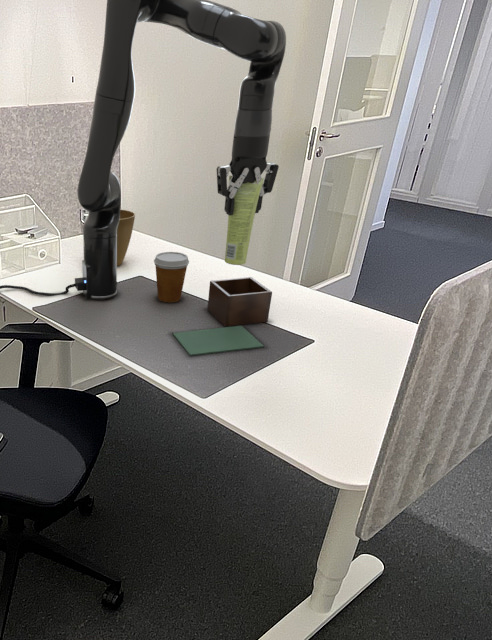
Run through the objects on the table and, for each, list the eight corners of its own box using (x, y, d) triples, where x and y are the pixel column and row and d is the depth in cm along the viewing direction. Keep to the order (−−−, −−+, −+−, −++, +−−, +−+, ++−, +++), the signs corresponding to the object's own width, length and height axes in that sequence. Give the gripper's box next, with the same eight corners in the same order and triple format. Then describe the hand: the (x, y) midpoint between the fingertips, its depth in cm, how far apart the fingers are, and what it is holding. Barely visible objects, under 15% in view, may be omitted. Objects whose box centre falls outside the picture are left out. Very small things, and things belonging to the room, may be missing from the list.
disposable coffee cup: (185, 305, 155) (188, 262, 149) (150, 303, 157) (152, 261, 151) (187, 293, 163) (190, 252, 157) (153, 291, 165) (155, 250, 159)
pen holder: (225, 326, 143) (228, 296, 139) (207, 309, 153) (210, 280, 149) (267, 321, 145) (272, 292, 141) (247, 305, 155) (251, 276, 150)
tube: (240, 257, 139) (250, 173, 129) (252, 263, 135) (264, 177, 125) (220, 261, 138) (229, 175, 127) (231, 267, 133) (242, 179, 123)
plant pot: (135, 270, 182) (136, 219, 173) (88, 270, 182) (87, 219, 174) (132, 256, 194) (133, 207, 186) (89, 256, 195) (88, 208, 186)
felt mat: (190, 356, 130) (190, 354, 129) (172, 334, 140) (172, 333, 139) (263, 347, 133) (263, 345, 132) (241, 326, 143) (241, 325, 142)
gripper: (274, 129, 126) (263, 207, 135) (213, 132, 123) (206, 212, 132) (291, 133, 120) (279, 215, 128) (228, 136, 117) (219, 219, 126)
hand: (242, 213), depth 130 cm, fingers closed on tube, 5 cm apart
